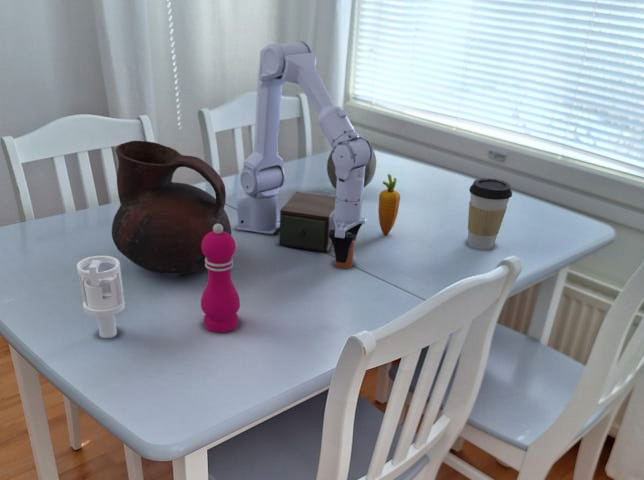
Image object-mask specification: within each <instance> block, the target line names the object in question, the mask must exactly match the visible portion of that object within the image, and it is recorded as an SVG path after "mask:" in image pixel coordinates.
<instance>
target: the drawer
mask: <svg viewBox="0 0 644 480" xmlns="http://www.w3.org/2000/svg"><path fill="white" fill-rule="evenodd" d="M325 234H326V220H323V219H316V218H309V217H302V216H295V215H288V214H287V215H282V216H281V244H286V245H293V246H299V247H306V248H313V249H319V250H324V248H325Z"/></svg>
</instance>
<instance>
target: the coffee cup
mask: <svg viewBox="0 0 644 480" xmlns="http://www.w3.org/2000/svg"><path fill="white" fill-rule="evenodd" d="M468 191H469V193H470V199H469V202H468V218H467V219H468V220H467V230H468V231H467V245H468V246H469V247H470V248H473V249H475V250H481V251H483V250H484V251H486V250H491V249H493V248H494V245H495V243H496V240H497V236H498V234H499V233H500V230H501V227H502V223H503V221H504V217H505V214H506V211H507V209H508V203H509V200H510V198H511V197H512V196H513V191H512V185H511V184H510V183H508V182H507V181H504V180H501V179H496V178H489V177H488V178H483V177H482V178H477V179H475V180H474V181H473V183H472V184H471V185H470V187H469V189H468Z"/></svg>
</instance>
